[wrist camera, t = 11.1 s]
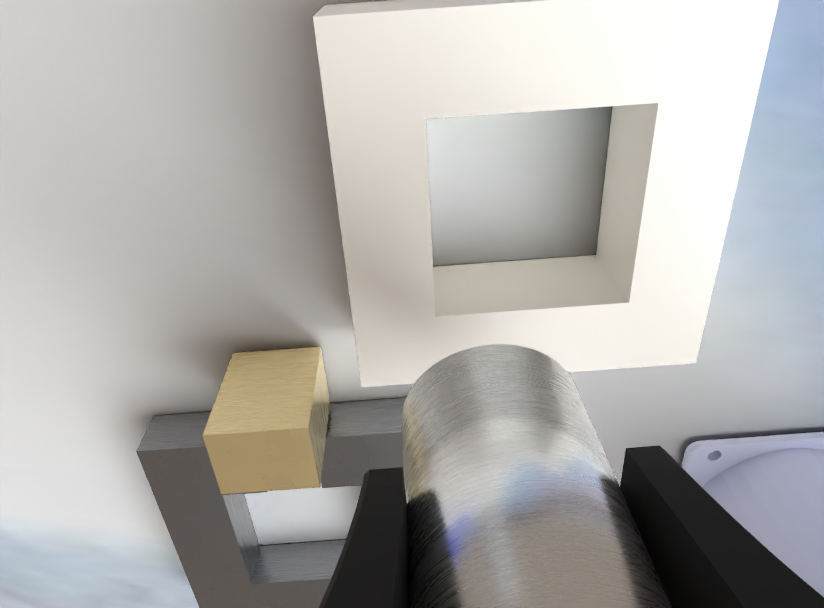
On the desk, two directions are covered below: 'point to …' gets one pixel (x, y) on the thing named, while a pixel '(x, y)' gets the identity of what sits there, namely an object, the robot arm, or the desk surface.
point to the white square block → (530, 92)
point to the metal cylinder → (515, 491)
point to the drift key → (269, 421)
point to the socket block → (229, 516)
